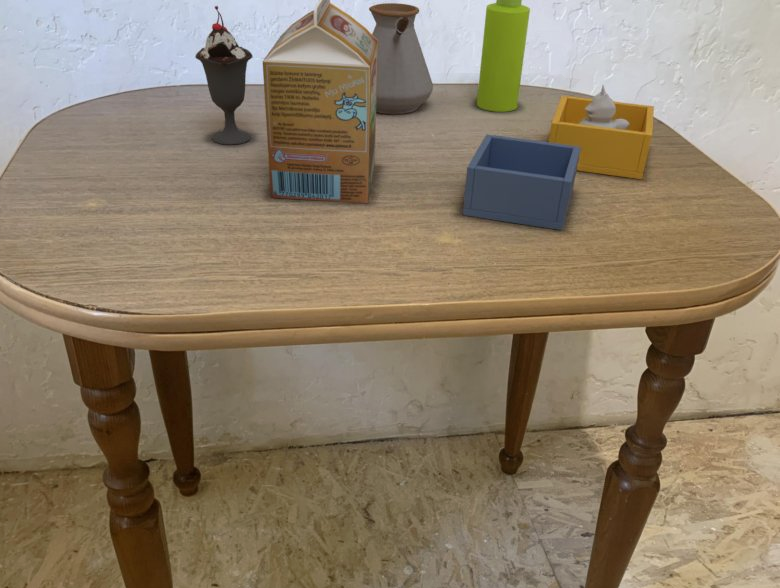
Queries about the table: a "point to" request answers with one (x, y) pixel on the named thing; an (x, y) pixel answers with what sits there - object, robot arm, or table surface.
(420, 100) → the coffee pot
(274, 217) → the table surface
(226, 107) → the sundae
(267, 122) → the milk carton
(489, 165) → the slate bin
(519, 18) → the soap dispenser
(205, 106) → the table surface
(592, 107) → the grey rounded piece
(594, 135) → the mustard bin
